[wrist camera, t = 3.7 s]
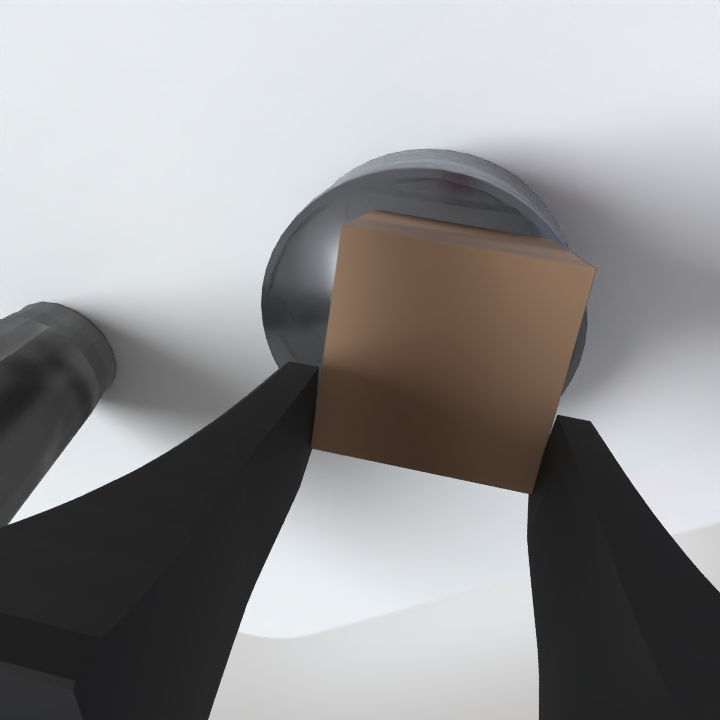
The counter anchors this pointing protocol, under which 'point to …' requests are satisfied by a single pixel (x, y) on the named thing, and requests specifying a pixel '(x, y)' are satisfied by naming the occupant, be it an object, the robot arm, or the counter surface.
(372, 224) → the walnut block
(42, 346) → the beverage cup
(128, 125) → the counter surface
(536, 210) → the grey tin
